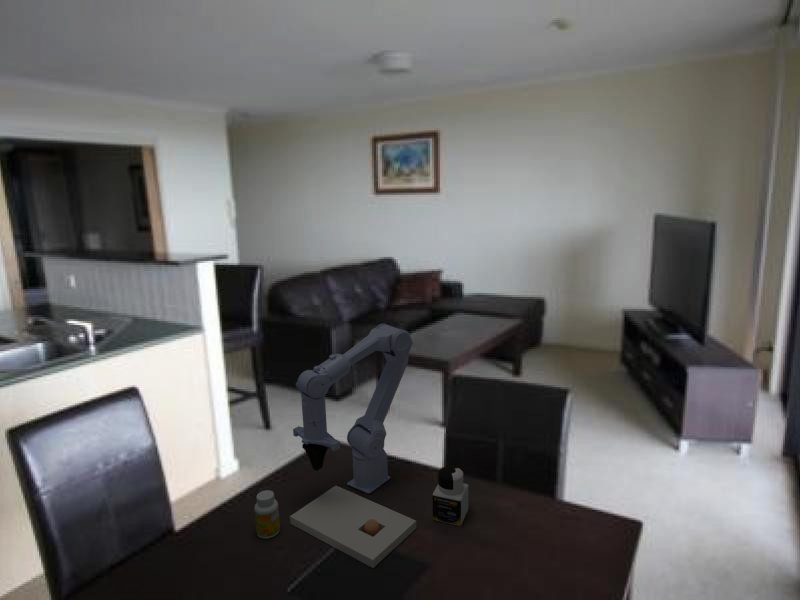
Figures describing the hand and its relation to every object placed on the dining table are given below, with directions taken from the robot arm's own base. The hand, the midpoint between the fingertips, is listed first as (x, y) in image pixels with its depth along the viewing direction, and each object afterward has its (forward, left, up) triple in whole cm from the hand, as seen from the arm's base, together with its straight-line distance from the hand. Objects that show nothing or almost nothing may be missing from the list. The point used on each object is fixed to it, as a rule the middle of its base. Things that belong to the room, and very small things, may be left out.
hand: (317, 468), depth 130 cm
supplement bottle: (+15, -2, -10) cm, 18 cm away
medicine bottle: (-15, +30, -10) cm, 35 cm away
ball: (+2, +19, -8) cm, 20 cm away
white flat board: (+2, +13, -10) cm, 16 cm away
